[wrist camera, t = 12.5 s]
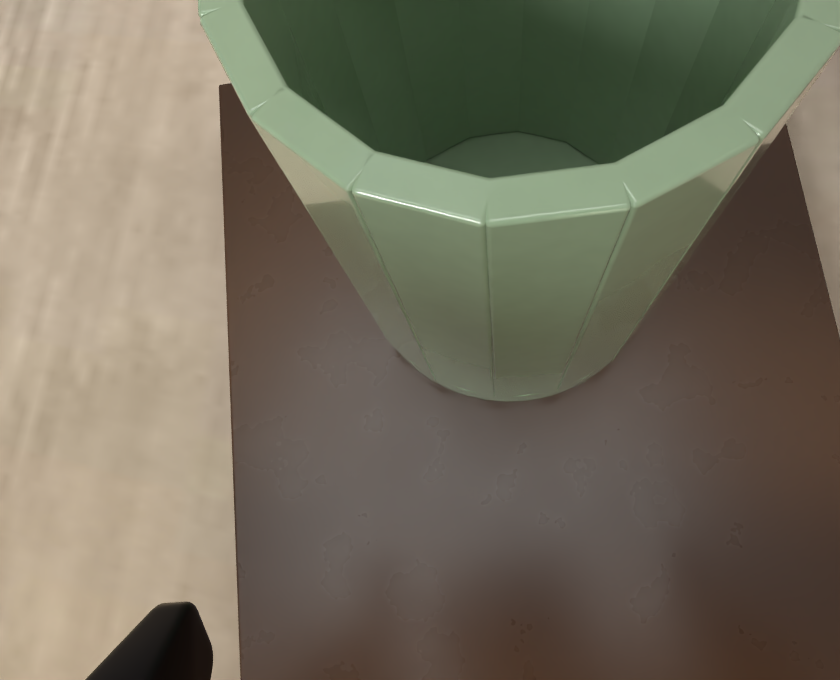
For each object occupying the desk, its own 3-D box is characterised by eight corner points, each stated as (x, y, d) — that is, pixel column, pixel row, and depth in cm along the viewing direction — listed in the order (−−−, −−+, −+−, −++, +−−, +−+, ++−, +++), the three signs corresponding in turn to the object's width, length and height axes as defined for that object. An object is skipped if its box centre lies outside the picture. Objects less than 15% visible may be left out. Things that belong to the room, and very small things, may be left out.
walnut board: (1030, 1257, 14) (1092, 1344, 12) (287, 1275, 15) (264, 1357, 13) (738, 38, 20) (756, 0, 19) (237, 114, 21) (218, 84, 20)
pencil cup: (613, 439, 16) (790, 303, 6) (329, 355, 18) (97, 129, 8) (683, 167, 18) (921, -300, 8) (415, 106, 19) (317, -371, 9)
